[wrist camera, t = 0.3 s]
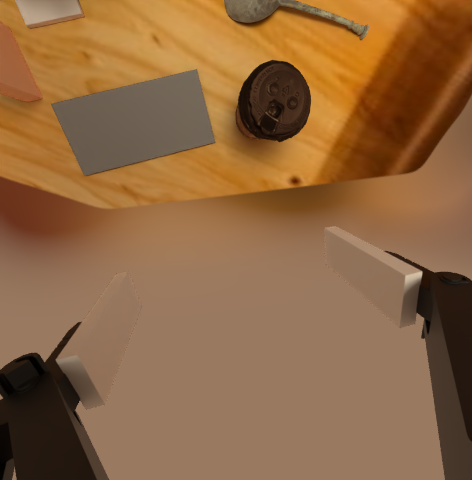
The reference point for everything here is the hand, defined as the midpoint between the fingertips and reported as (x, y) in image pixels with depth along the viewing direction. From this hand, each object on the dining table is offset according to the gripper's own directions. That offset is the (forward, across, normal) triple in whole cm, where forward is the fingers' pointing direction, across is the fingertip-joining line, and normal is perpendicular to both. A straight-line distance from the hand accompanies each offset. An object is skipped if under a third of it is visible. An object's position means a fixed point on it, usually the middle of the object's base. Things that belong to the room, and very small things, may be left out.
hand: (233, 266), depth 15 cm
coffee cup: (+27, +9, +11) cm, 31 cm away
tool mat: (+27, -8, +13) cm, 31 cm away
